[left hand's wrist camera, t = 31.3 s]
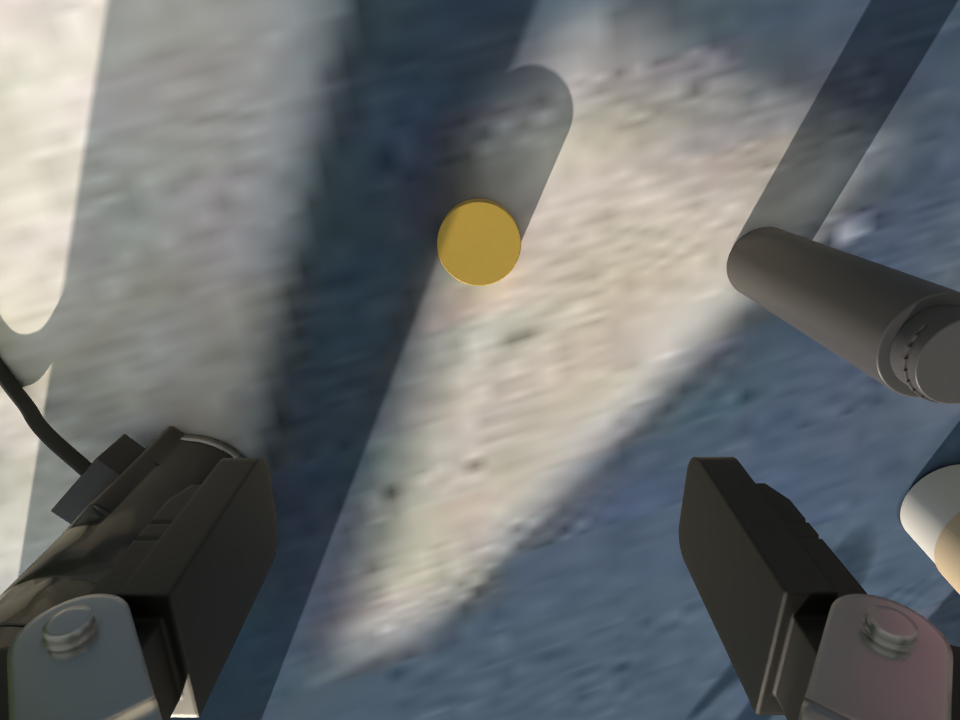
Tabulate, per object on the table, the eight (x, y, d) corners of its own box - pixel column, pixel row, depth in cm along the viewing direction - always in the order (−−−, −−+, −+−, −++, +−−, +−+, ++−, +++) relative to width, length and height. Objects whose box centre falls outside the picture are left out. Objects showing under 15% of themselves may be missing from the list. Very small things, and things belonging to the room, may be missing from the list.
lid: (514, 193, 36) (516, 196, 35) (523, 273, 38) (525, 280, 36) (433, 203, 37) (430, 207, 35) (445, 283, 38) (443, 290, 37)
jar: (719, 293, 39) (886, 411, 23) (735, 224, 37) (927, 299, 21) (786, 298, 39) (999, 419, 23) (805, 229, 37) (1048, 308, 21)
